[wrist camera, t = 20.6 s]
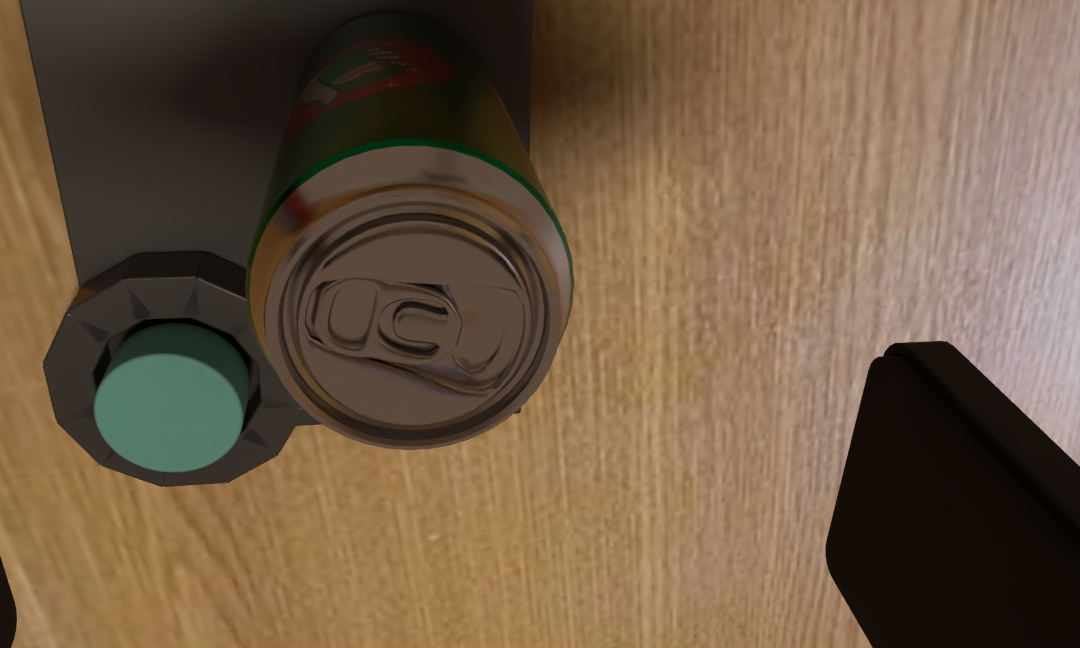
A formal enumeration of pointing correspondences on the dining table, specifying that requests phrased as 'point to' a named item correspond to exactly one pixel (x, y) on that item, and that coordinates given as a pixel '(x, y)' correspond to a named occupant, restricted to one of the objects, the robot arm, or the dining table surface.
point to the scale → (194, 174)
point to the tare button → (173, 398)
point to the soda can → (406, 243)
